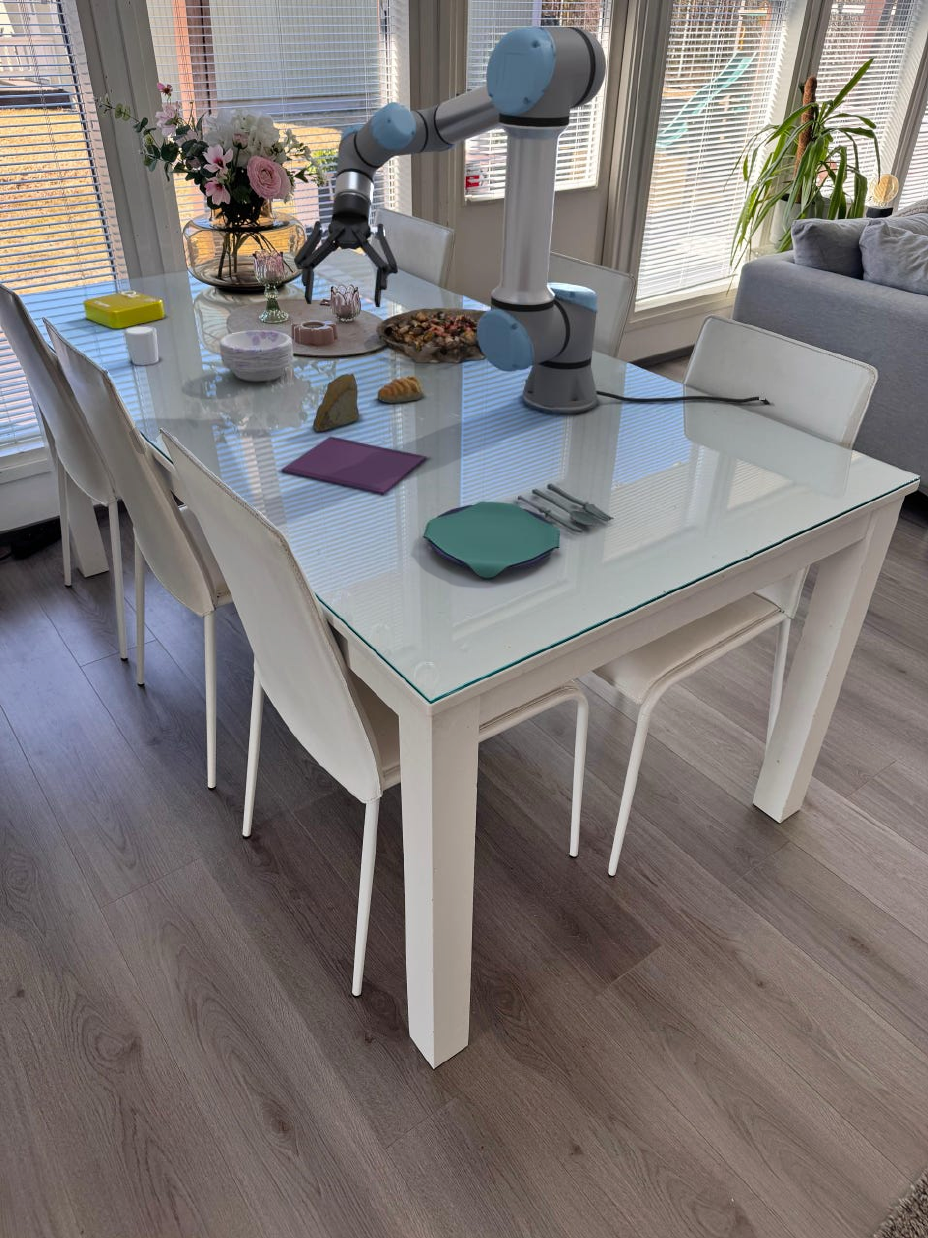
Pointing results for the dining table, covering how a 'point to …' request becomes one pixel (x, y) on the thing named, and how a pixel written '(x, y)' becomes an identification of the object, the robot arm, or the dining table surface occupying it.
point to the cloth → (355, 465)
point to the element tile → (124, 309)
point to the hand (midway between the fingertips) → (342, 302)
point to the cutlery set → (503, 533)
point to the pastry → (401, 390)
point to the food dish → (434, 334)
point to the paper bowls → (257, 354)
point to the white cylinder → (142, 344)
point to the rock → (338, 404)
